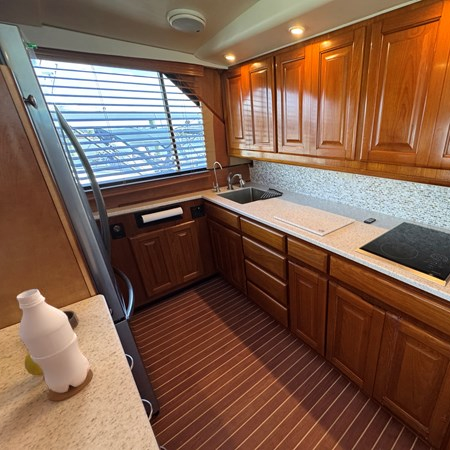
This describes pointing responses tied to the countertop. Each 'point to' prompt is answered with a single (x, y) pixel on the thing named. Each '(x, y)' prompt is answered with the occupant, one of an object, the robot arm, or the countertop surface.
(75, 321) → the ring
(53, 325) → the water bottle
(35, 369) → the lemon
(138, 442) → the countertop surface
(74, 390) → the cork coaster
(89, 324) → the countertop surface
